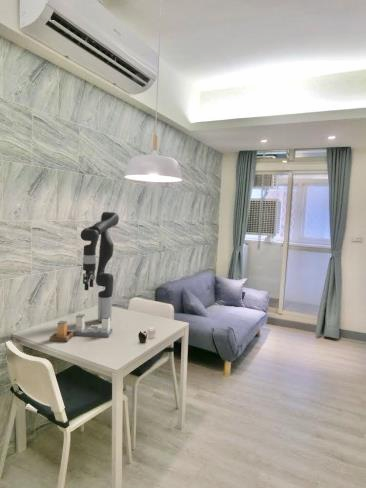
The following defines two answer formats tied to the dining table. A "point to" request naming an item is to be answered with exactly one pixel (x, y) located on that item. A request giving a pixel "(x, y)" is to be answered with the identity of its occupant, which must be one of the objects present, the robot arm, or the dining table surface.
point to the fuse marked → (62, 329)
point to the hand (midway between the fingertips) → (88, 288)
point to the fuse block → (92, 327)
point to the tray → (62, 339)
